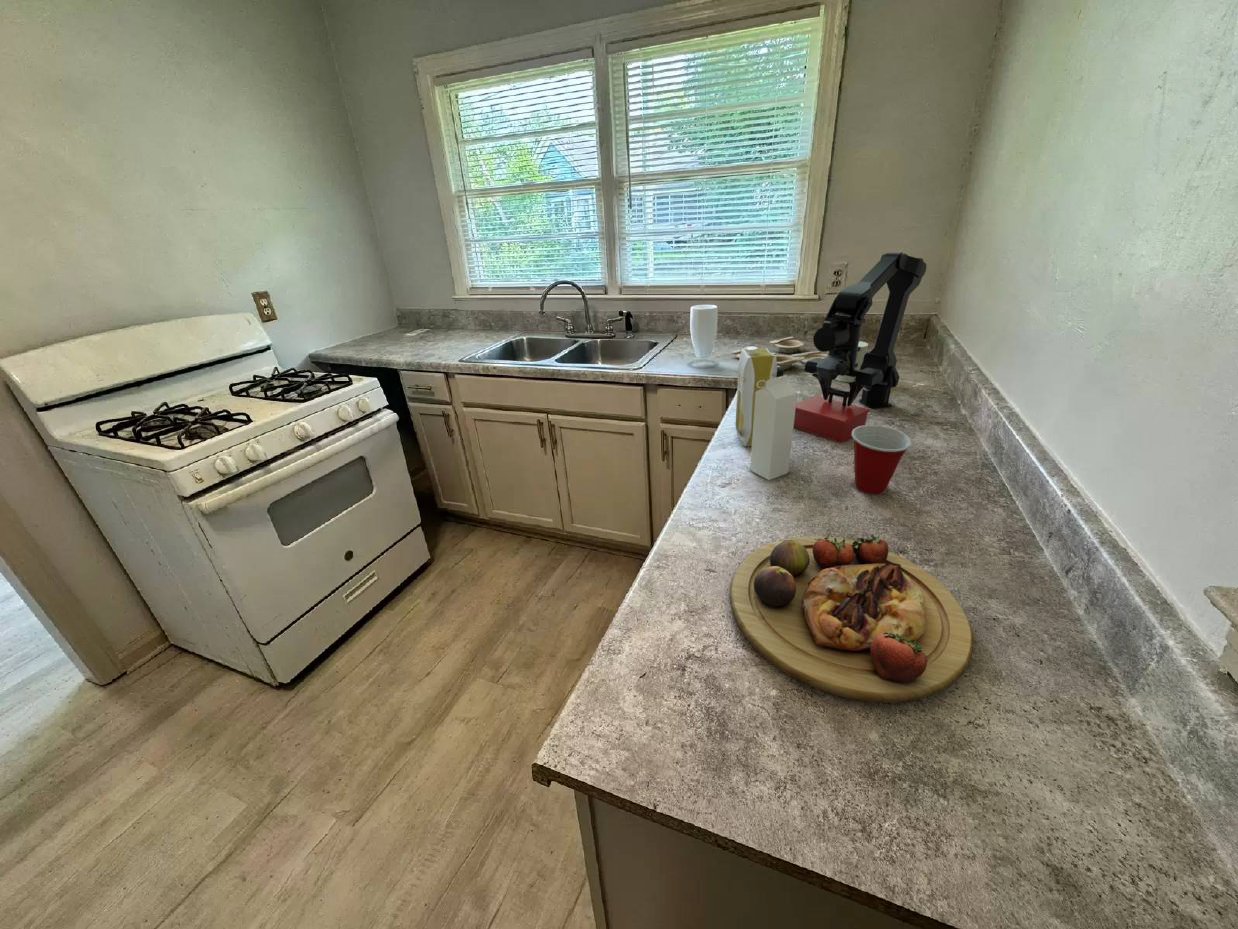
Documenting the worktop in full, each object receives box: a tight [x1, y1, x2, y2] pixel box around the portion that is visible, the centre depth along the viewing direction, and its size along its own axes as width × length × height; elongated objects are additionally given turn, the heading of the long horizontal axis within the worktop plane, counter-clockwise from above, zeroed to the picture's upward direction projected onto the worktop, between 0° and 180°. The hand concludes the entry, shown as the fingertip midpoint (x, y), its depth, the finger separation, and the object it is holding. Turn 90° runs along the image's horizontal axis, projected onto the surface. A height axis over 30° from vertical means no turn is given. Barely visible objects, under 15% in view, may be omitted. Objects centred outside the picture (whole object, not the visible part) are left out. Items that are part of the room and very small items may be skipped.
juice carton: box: [735, 346, 777, 447], centre depth 121 cm, size 9×8×24 cm
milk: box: [749, 374, 798, 481], centre depth 106 cm, size 6×6×22 cm
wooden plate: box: [729, 533, 974, 704], centre depth 71 cm, size 32×32×8 cm
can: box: [834, 340, 869, 383], centre depth 163 cm, size 9×9×12 cm
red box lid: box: [795, 386, 870, 424], centre depth 128 cm, size 11×16×5 cm
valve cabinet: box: [793, 410, 868, 443], centre depth 130 cm, size 11×16×5 cm
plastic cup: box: [851, 424, 913, 495], centre depth 100 cm, size 11×11×12 cm
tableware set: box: [731, 336, 828, 370], centre depth 189 cm, size 35×29×4 cm
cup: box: [689, 304, 719, 359], centre depth 186 cm, size 10×10×22 cm
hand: (837, 402), depth 130 cm, fingers open, 6 cm apart
